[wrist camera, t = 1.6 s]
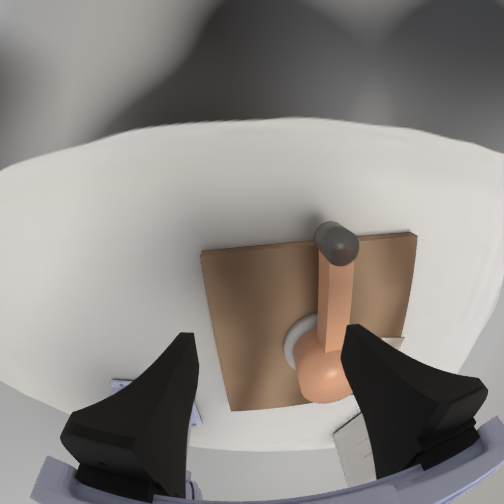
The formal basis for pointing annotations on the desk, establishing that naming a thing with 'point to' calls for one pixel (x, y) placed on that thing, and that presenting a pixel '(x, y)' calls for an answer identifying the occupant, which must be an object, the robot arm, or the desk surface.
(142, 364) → the desk surface
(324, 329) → the wooden tool handle
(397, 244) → the walnut base
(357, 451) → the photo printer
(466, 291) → the desk surface
